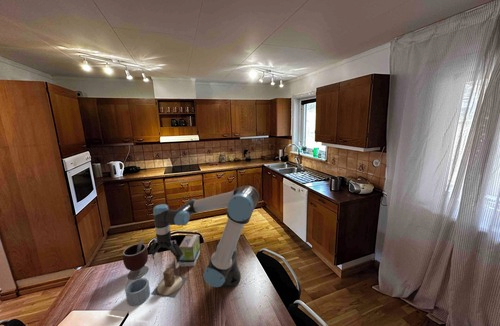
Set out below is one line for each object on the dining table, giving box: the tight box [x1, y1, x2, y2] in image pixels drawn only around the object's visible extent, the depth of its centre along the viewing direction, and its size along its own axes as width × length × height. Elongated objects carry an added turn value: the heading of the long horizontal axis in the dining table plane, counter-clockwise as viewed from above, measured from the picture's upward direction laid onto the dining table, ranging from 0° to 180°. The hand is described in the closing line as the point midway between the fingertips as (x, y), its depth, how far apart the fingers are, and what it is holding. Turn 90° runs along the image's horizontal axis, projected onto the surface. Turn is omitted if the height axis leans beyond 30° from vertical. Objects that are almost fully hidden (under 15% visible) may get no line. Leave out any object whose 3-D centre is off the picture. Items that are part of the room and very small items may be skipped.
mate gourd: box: [122, 237, 150, 281], centre depth 131 cm, size 16×14×20 cm
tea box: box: [178, 234, 201, 267], centre depth 142 cm, size 15×10×15 cm, turn 179°
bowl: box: [124, 277, 151, 307], centre depth 112 cm, size 11×11×8 cm
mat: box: [150, 276, 189, 299], centre depth 120 cm, size 15×15×1 cm
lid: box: [156, 267, 183, 295], centre depth 119 cm, size 14×14×10 cm
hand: (167, 265), depth 118 cm, fingers open, 13 cm apart
